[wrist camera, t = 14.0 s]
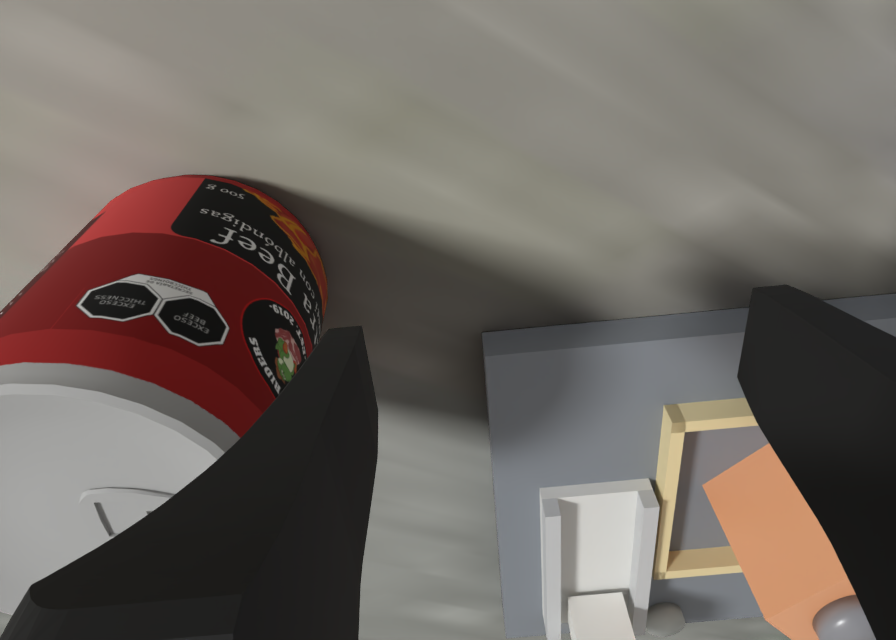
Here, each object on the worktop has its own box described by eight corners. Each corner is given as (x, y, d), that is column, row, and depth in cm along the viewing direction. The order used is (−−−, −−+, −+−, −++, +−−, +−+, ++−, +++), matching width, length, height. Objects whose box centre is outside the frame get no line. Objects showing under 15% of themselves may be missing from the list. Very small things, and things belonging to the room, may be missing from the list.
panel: (919, 291, 25) (976, 337, 22) (821, 582, 34) (853, 639, 31) (481, 332, 25) (488, 383, 22) (503, 610, 34) (509, 668, 32)
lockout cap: (788, 430, 26) (892, 584, 20) (838, 480, 28) (947, 635, 22) (702, 485, 28) (775, 642, 22) (754, 529, 29) (836, 686, 23)
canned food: (364, 328, 25) (330, 594, 15) (168, 386, 26) (27, 666, 17) (271, 131, 21) (151, 331, 11) (44, 209, 22) (-233, 448, 13)
